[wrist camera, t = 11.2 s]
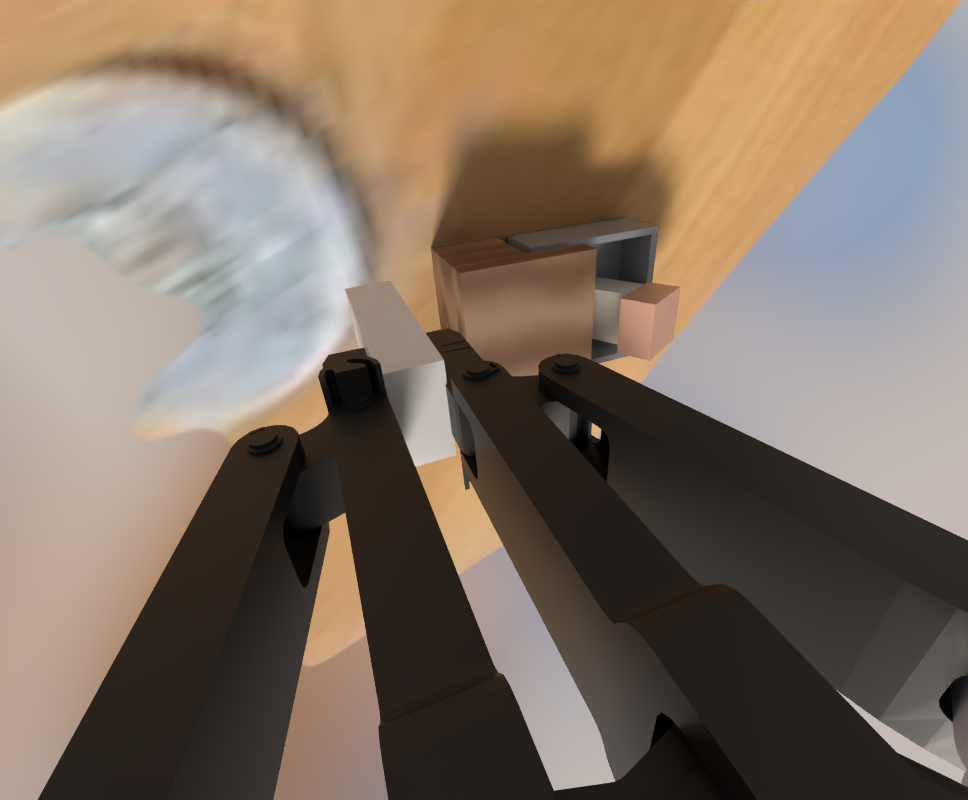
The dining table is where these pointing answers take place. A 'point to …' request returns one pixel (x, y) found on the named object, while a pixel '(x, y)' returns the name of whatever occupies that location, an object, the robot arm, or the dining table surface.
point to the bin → (603, 256)
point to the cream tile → (609, 307)
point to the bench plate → (517, 300)
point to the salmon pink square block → (647, 320)
